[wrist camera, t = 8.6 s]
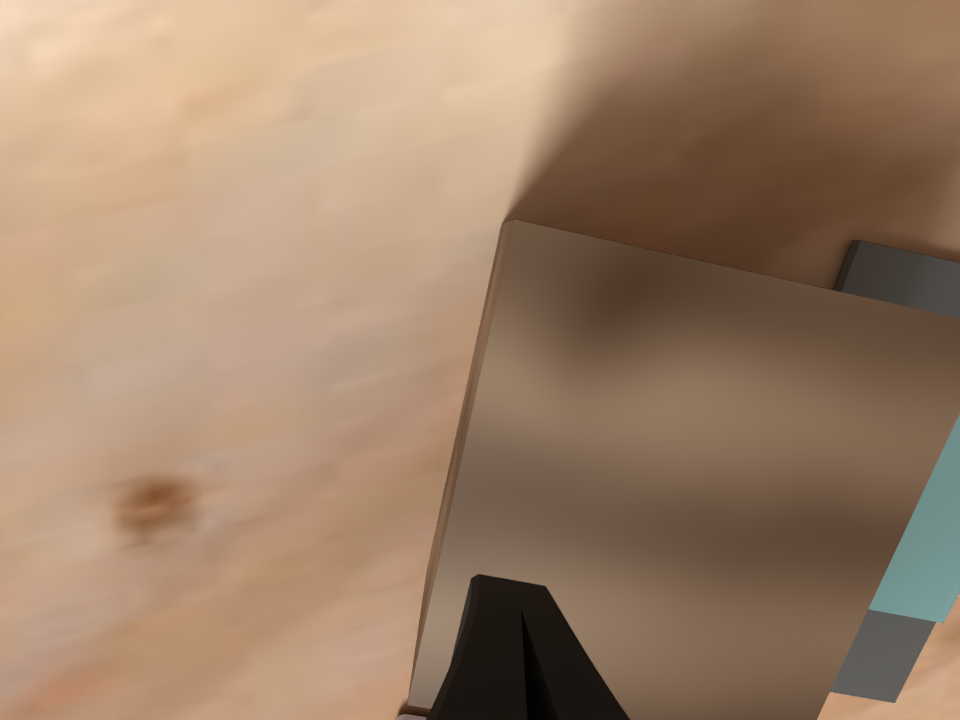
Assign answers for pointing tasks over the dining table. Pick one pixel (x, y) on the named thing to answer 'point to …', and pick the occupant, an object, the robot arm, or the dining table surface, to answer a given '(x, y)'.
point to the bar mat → (930, 287)
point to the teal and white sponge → (928, 547)
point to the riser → (686, 469)
